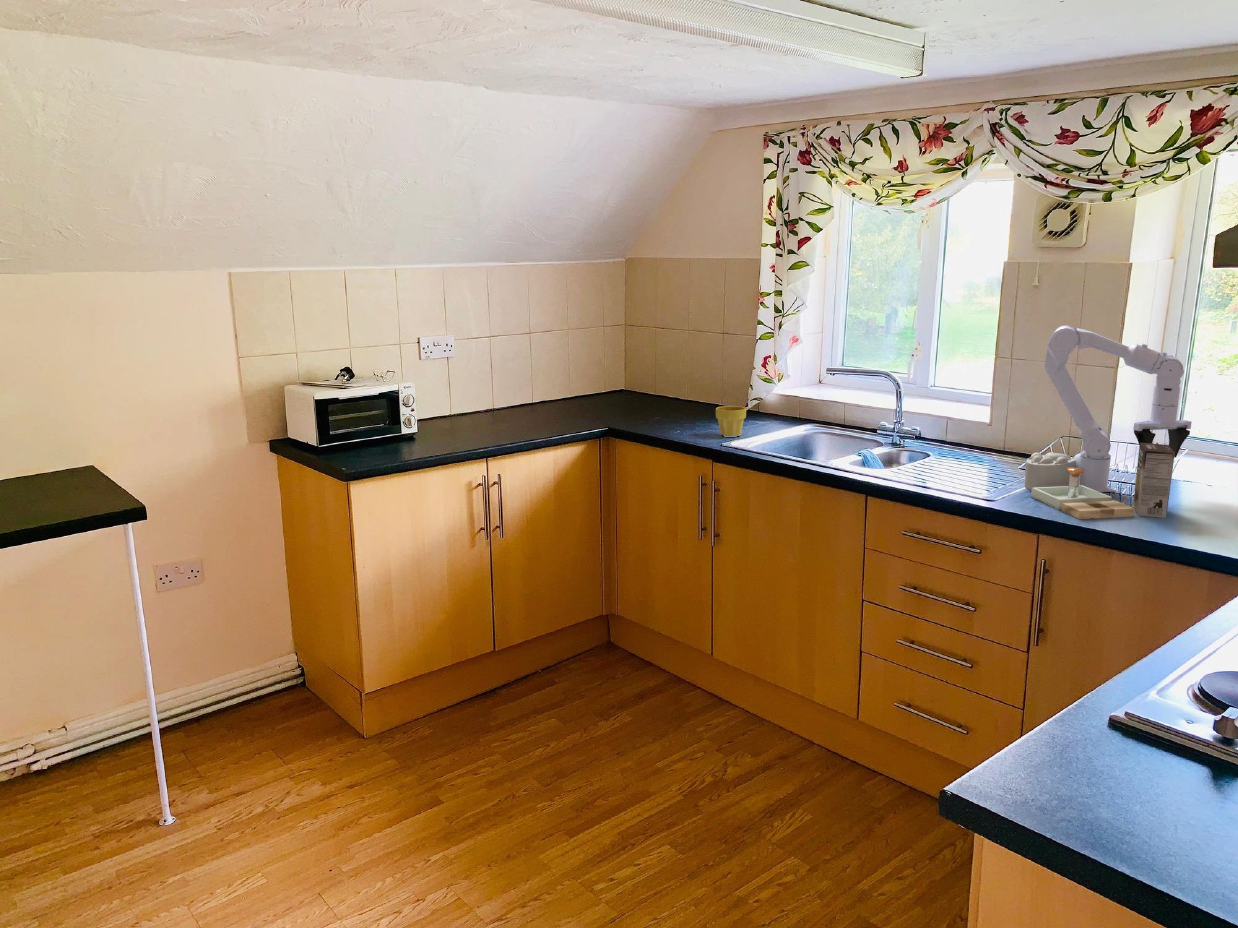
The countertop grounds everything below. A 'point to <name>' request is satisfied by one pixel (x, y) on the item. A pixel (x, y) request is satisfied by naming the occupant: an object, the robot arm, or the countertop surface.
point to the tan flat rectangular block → (1098, 509)
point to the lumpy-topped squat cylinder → (1048, 470)
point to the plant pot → (730, 419)
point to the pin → (1074, 481)
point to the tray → (1066, 495)
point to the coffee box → (1153, 480)
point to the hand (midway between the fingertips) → (1158, 457)
